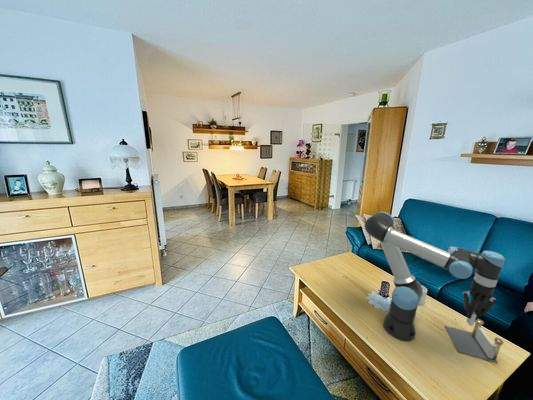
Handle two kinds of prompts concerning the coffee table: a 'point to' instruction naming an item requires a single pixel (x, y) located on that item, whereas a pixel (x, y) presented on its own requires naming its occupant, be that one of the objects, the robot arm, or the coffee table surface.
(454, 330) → the mat
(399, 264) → the robot arm
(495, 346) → the beige piece
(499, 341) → the brass capped rod
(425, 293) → the cup
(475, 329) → the hinge post
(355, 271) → the coffee table surface
